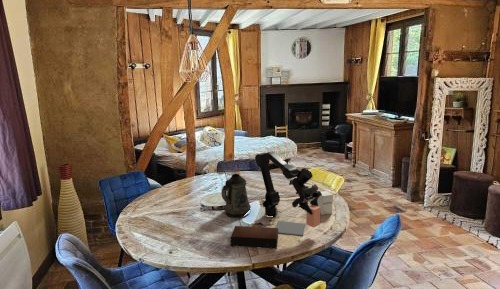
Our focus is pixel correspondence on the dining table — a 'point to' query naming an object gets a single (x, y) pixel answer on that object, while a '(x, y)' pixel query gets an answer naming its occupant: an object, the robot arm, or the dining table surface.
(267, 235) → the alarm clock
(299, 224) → the rubber mat
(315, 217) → the brick-red block
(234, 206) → the beer stein
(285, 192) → the dining table surface
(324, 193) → the supplement box
